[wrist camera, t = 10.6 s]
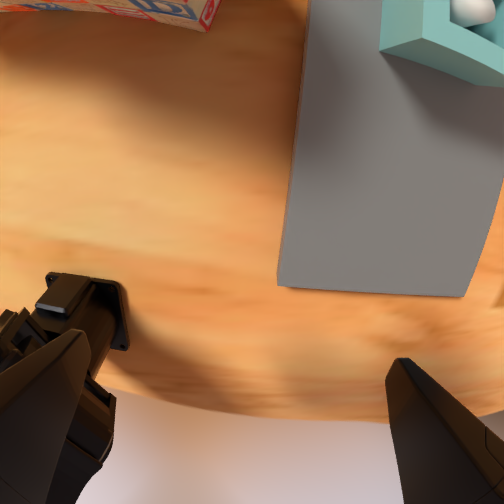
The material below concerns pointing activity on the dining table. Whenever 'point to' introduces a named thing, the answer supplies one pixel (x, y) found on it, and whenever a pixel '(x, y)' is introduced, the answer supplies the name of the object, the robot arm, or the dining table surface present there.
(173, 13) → the stack of blocks
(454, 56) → the teal hollow block
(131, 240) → the dining table surface
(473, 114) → the grey piece
